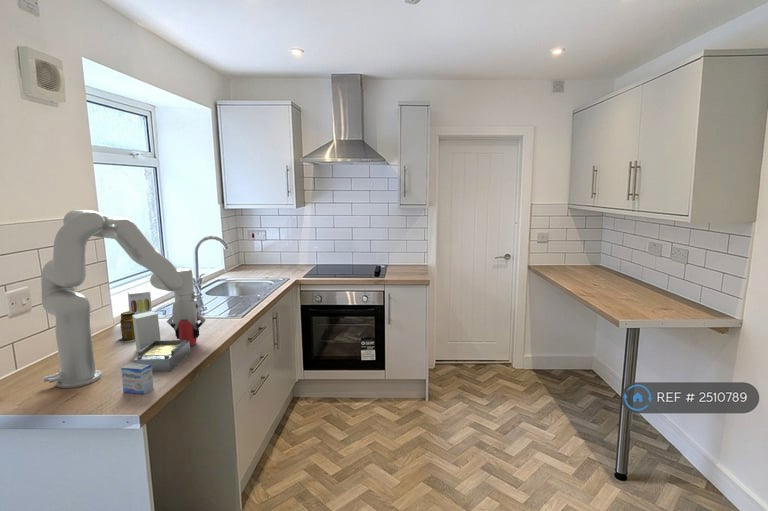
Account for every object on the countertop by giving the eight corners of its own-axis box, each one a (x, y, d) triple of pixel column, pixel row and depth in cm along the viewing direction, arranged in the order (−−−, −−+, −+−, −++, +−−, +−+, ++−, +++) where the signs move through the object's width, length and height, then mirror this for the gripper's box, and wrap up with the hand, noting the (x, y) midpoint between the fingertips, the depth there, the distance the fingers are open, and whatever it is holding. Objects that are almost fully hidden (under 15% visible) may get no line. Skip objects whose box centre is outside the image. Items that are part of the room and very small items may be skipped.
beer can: (192, 340, 178) (190, 314, 176) (199, 344, 174) (197, 317, 172) (177, 344, 173) (174, 318, 171) (184, 348, 169) (181, 321, 167)
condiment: (142, 335, 185) (139, 310, 183) (131, 342, 176) (128, 316, 174) (126, 335, 184) (123, 310, 183) (114, 342, 176) (111, 316, 174)
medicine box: (122, 392, 131) (120, 367, 130) (133, 386, 136) (130, 362, 134) (144, 394, 130) (141, 369, 129) (154, 388, 134) (151, 363, 133)
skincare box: (157, 345, 173) (154, 310, 170) (162, 349, 168) (159, 313, 166) (135, 350, 167) (131, 314, 164) (139, 355, 162) (135, 318, 160)
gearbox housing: (170, 371, 147) (168, 354, 146) (135, 372, 146) (133, 355, 145) (190, 352, 165) (189, 337, 164) (159, 353, 164) (157, 337, 163)
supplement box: (131, 327, 196) (127, 294, 193) (129, 322, 203) (126, 290, 201) (153, 323, 201) (150, 291, 199) (151, 319, 209) (148, 287, 206)
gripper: (208, 295, 175) (211, 334, 177) (167, 295, 173) (171, 335, 176) (202, 299, 167) (205, 340, 170) (159, 300, 166) (162, 341, 169)
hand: (187, 337), depth 173 cm, fingers closed on beer can, 6 cm apart
